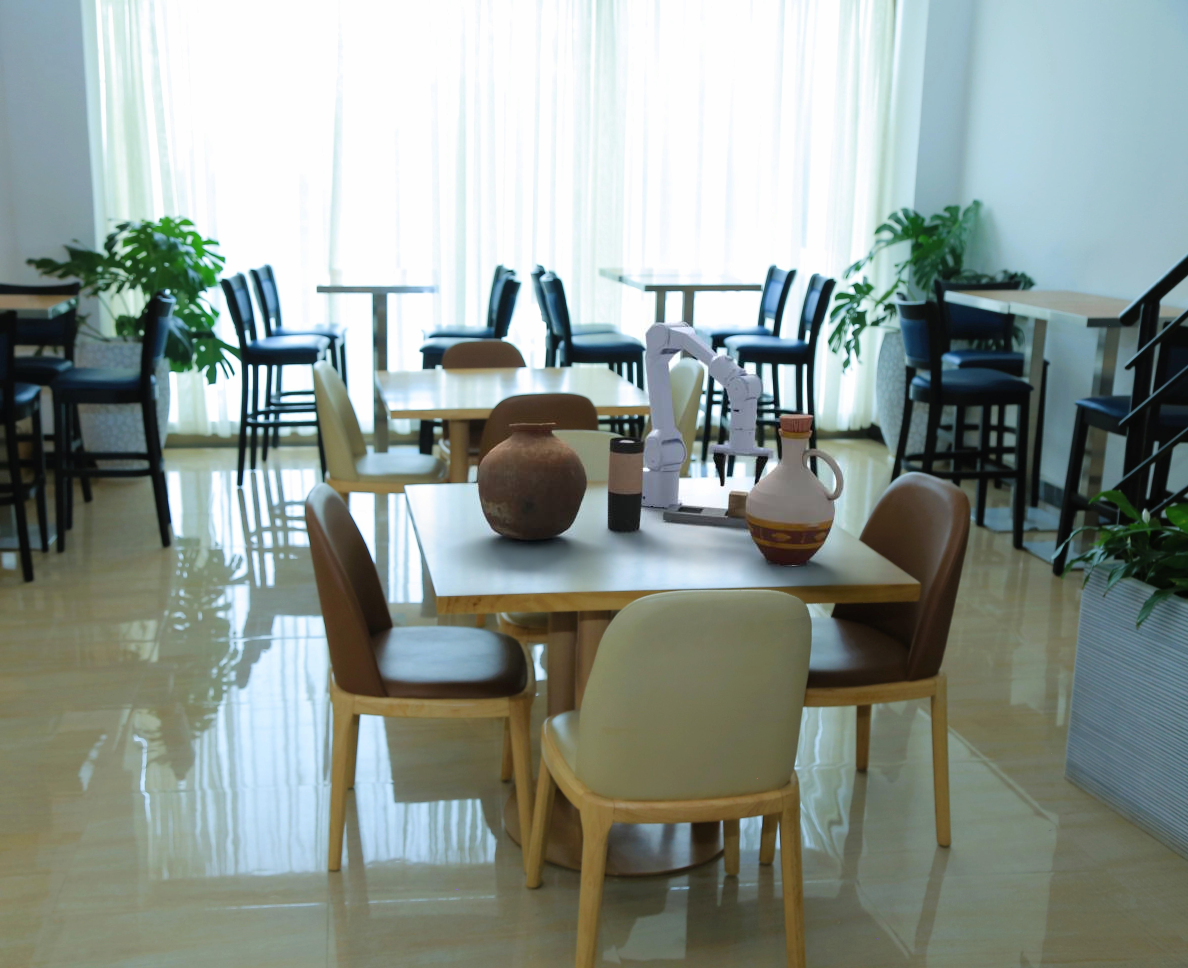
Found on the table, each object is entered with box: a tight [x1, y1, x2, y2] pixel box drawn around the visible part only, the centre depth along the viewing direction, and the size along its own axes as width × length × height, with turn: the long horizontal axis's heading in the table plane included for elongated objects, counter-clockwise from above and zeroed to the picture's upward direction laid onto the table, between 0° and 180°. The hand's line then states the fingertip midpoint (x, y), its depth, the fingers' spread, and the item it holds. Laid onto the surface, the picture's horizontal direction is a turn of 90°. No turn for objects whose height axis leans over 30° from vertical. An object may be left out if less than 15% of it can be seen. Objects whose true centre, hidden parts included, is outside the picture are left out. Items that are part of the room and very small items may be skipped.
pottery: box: [477, 422, 588, 541], centre depth 251 cm, size 23×23×25 cm
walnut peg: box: [727, 490, 749, 518], centre depth 272 cm, size 4×4×7 cm
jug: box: [746, 414, 845, 566], centre depth 238 cm, size 20×18×30 cm
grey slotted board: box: [662, 504, 749, 529], centre depth 274 cm, size 22×9×2 cm, turn 76°
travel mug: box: [607, 436, 645, 533], centre depth 262 cm, size 8×8×20 cm
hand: (739, 487), depth 271 cm, fingers open, 7 cm apart
